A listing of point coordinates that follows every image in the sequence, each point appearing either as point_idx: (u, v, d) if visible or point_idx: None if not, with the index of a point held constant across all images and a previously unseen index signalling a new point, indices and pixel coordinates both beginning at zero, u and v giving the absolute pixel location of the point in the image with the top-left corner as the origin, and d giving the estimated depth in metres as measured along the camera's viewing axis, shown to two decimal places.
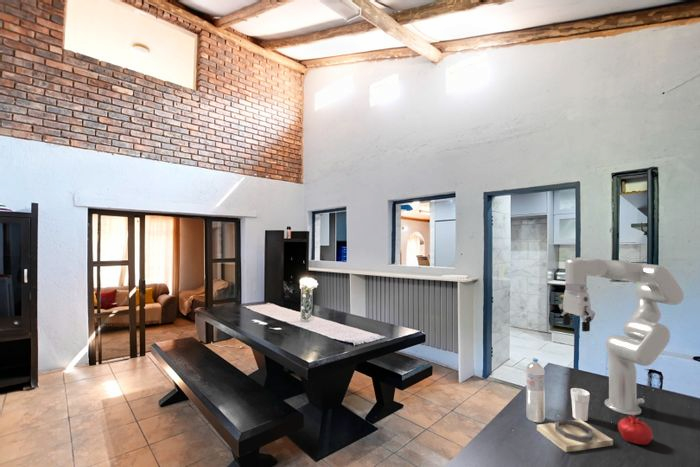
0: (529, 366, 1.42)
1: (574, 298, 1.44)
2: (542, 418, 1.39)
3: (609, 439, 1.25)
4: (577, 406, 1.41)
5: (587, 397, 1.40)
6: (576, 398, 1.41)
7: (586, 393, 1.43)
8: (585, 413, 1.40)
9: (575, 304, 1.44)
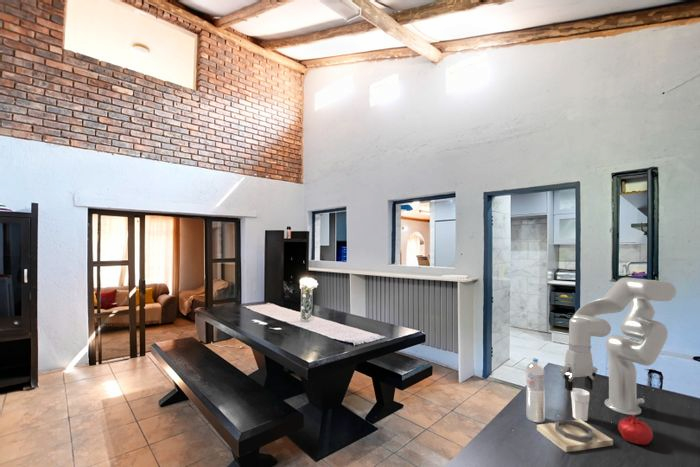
0: (529, 366, 1.42)
1: (587, 359, 1.41)
2: (542, 418, 1.39)
3: (609, 439, 1.25)
4: (577, 406, 1.41)
5: (587, 397, 1.40)
6: (576, 398, 1.41)
7: (586, 393, 1.43)
8: (585, 413, 1.40)
9: (587, 365, 1.41)
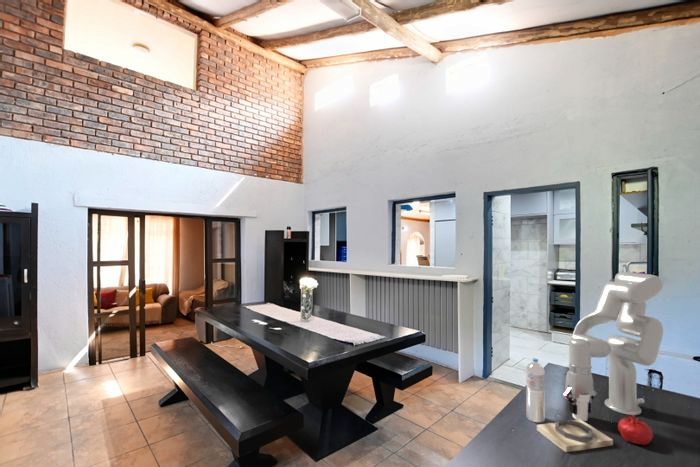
0: (529, 366, 1.42)
1: (588, 380, 1.41)
2: (542, 418, 1.39)
3: (609, 439, 1.25)
4: (577, 406, 1.41)
5: (587, 397, 1.40)
6: None
7: None
8: (585, 413, 1.40)
9: (588, 386, 1.41)
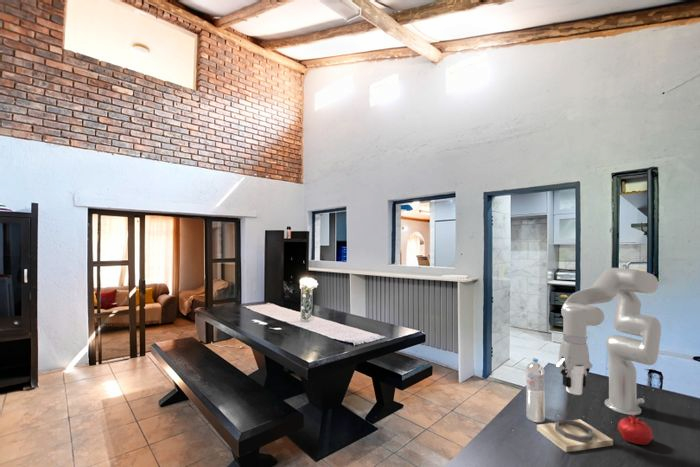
0: (529, 366, 1.42)
1: (583, 351, 1.30)
2: (542, 418, 1.39)
3: (609, 439, 1.25)
4: (571, 379, 1.31)
5: (582, 369, 1.30)
6: None
7: None
8: (579, 386, 1.30)
9: (583, 357, 1.31)
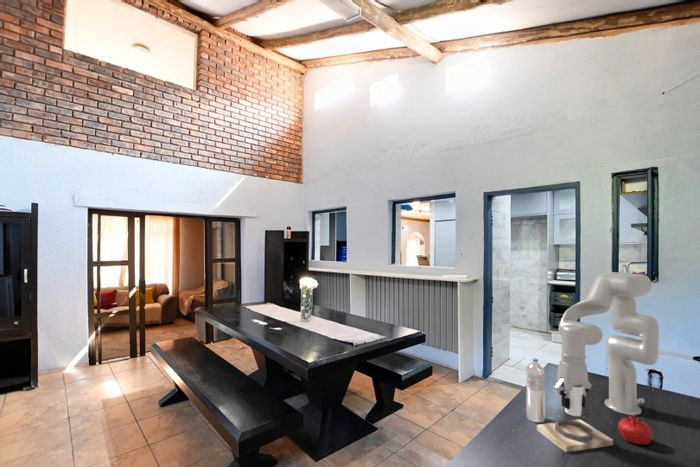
0: (529, 366, 1.42)
1: (582, 371, 1.27)
2: (542, 418, 1.39)
3: (609, 439, 1.25)
4: (570, 399, 1.28)
5: (581, 389, 1.26)
6: None
7: None
8: (579, 407, 1.27)
9: (582, 378, 1.28)
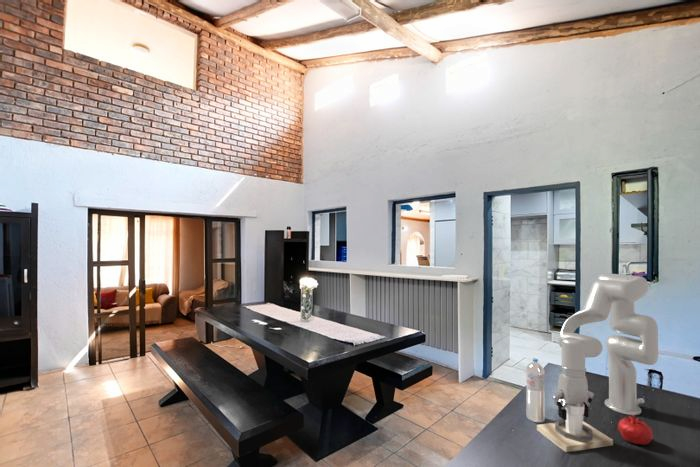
0: (529, 366, 1.42)
1: (582, 384, 1.27)
2: (542, 418, 1.39)
3: (609, 439, 1.25)
4: (571, 419, 1.28)
5: (582, 409, 1.26)
6: (570, 410, 1.28)
7: (581, 404, 1.30)
8: (579, 427, 1.27)
9: (582, 390, 1.28)
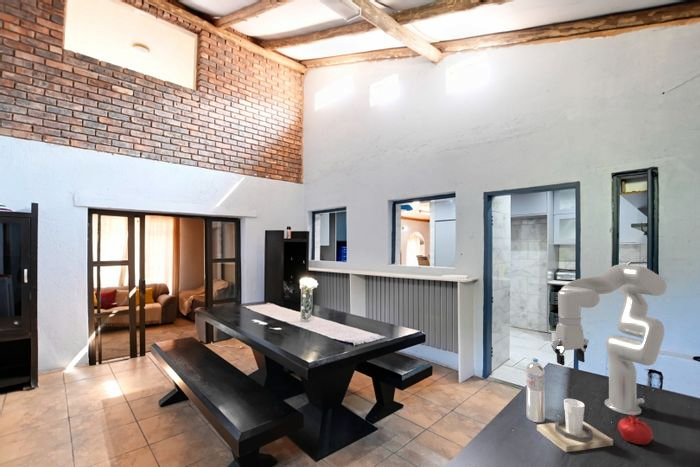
0: (529, 366, 1.42)
1: (578, 331, 1.37)
2: (542, 418, 1.39)
3: (609, 439, 1.25)
4: (571, 419, 1.28)
5: (582, 409, 1.26)
6: (570, 410, 1.28)
7: (581, 404, 1.30)
8: (579, 427, 1.27)
9: (578, 337, 1.37)
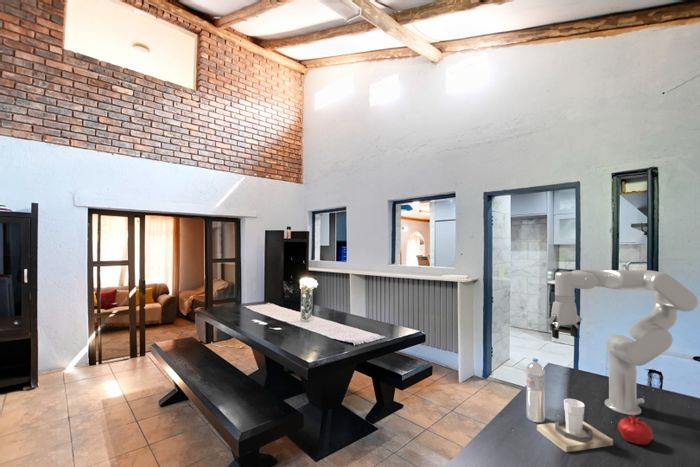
0: (529, 366, 1.42)
1: (572, 309, 1.52)
2: (542, 418, 1.39)
3: (609, 439, 1.25)
4: (571, 419, 1.28)
5: (582, 409, 1.26)
6: (570, 410, 1.28)
7: (581, 404, 1.30)
8: (579, 427, 1.27)
9: (572, 314, 1.52)
